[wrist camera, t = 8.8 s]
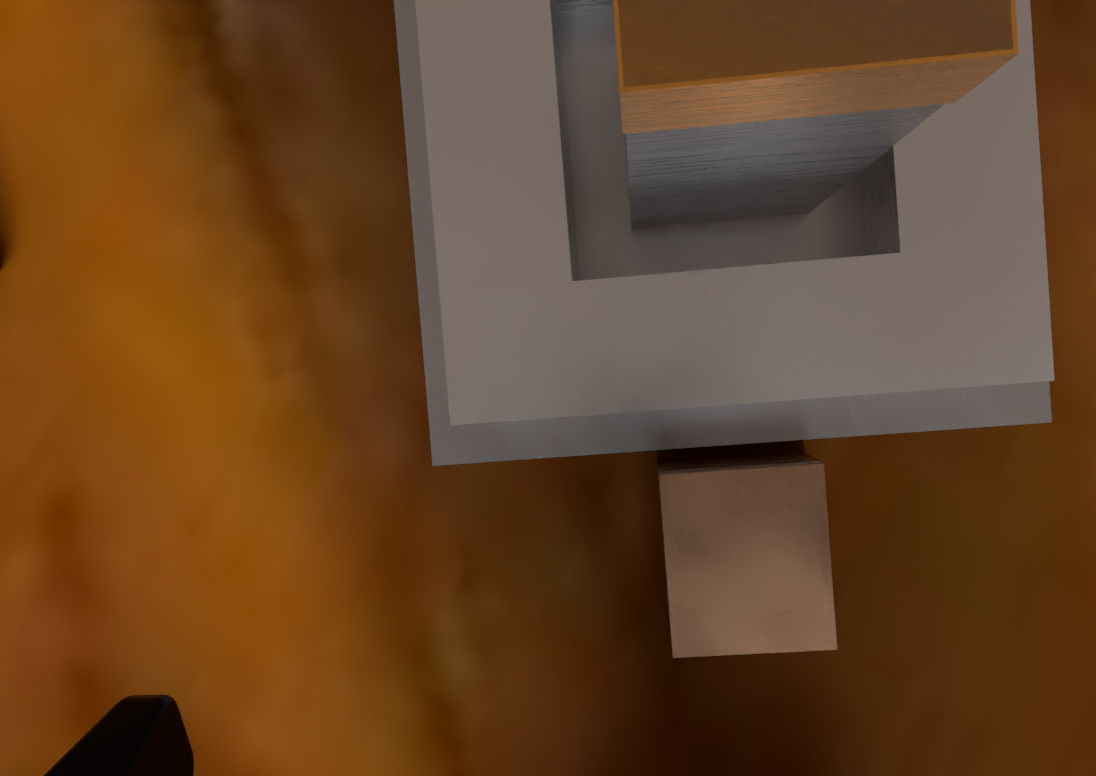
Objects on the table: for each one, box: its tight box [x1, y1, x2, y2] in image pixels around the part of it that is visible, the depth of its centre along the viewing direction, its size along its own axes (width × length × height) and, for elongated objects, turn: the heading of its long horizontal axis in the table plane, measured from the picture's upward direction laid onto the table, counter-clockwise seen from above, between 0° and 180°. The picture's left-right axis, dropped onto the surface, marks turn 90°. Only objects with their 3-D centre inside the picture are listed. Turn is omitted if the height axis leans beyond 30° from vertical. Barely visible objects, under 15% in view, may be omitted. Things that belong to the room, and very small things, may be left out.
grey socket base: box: [394, 0, 1054, 658], centre depth 21 cm, size 18×14×4 cm
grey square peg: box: [613, 0, 1019, 229], centre depth 16 cm, size 4×4×12 cm
